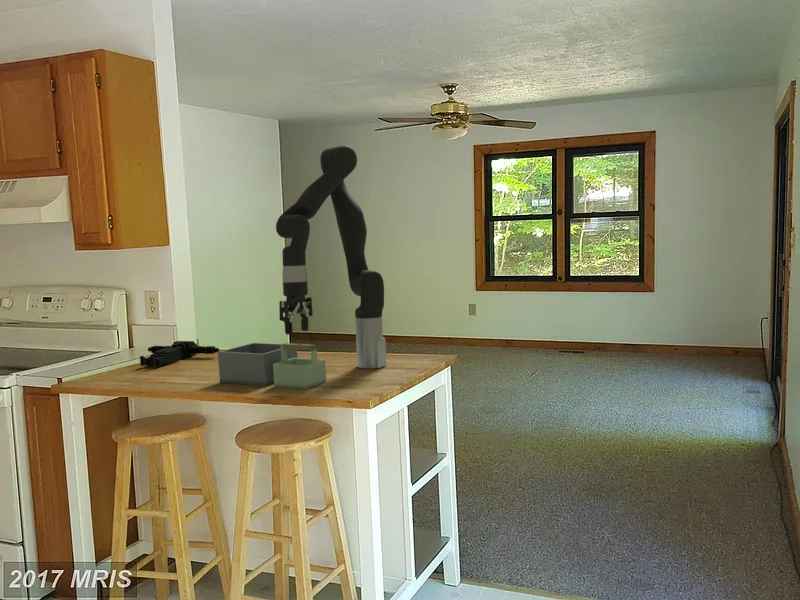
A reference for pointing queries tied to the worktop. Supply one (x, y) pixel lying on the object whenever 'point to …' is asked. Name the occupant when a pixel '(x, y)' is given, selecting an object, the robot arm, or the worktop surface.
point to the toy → (174, 353)
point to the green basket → (299, 368)
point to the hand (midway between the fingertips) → (297, 332)
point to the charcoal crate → (251, 363)
